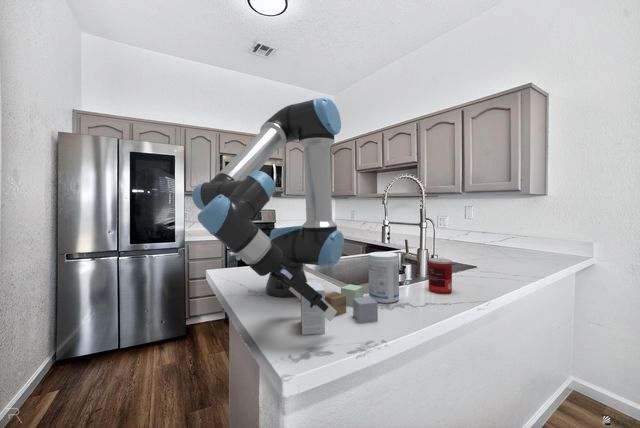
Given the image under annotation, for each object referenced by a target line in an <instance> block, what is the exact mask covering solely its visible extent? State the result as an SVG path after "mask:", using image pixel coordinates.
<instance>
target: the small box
mask: <svg viewBox="0 0 640 428" xmlns="http://www.w3.org/2000/svg"><path fill="white" fill-rule="evenodd" d="M306 283H307V284H308V285H310V286H311V287H312V288H313V289H314V290H315V291H317V292H318V293H319V294H321V295H322V298H323V299H324V300H325V294H326V292H325V291H326V289H325V288H324V286H323V283H322V281H308V282H306ZM310 305H311V304H310V302H309V301H308V300H306V299H305V298H304V297H303V296H302V295H301V300H300V323H301V335H302V336H303V335H323V334H326V318H325V317H324V316H323V315H322V314H321V313H320V312H319V311H318V310H317V309H315V308H314V307H312V308H311V307H310Z"/></svg>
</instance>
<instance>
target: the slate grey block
mask: <svg viewBox="0 0 640 428" xmlns="http://www.w3.org/2000/svg"><path fill="white" fill-rule="evenodd" d="M378 304H379V302H376V301H375V300H374V299H372V298H371V297H369V296H363V297H362V298H353V306H352V316H353V317H354V319H355V320H356V321H357V322H358V323H359V324H364V323H365V324H366V323H367V324H368V323H374V322H375V323H377V322H378V319H379V317H378V312H379V310H378V308H379V307H378V306H379V305H378Z"/></svg>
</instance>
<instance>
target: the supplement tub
mask: <svg viewBox="0 0 640 428" xmlns="http://www.w3.org/2000/svg"><path fill="white" fill-rule="evenodd" d="M367 261H368V295H369V296H368V297H371V298H372V299H374V300H375V301H376V302H377V303H382V304H391V303H394V302H397V301H398V300H399V298H400V279H399V278H400V273H399V272H400V271H399V262H400V261H399V255H398V253H397V252H391V251H374V252H373V251H372V252H370V253H368V260H367Z"/></svg>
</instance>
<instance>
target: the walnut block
mask: <svg viewBox="0 0 640 428" xmlns="http://www.w3.org/2000/svg"><path fill="white" fill-rule="evenodd" d="M325 301H326V302H327V303H328V304H330V305H331V306H332V307H333V308H334V309H335V310H336V311H337V313H336V315H335V316H334V317H338V316H341V315H343V314H347V305H346V295H343V294H341V292H337V291H331V292H327V293H325ZM334 317H333V318H334Z"/></svg>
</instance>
